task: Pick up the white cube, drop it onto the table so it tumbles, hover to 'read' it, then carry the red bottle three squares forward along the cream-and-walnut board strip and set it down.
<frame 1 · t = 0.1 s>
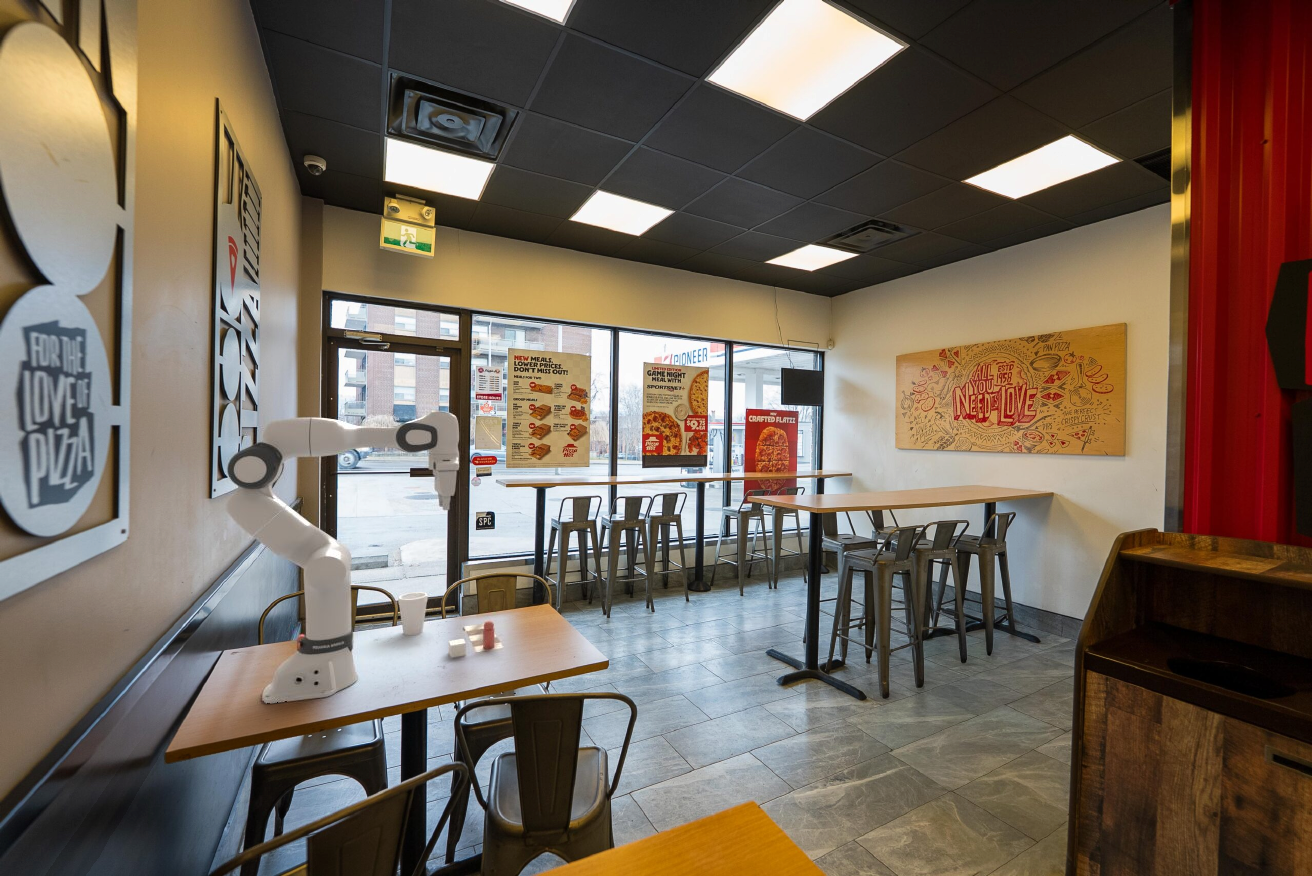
hand: (444, 508, 170), 48 cm above the table, fingers open, 8 cm apart
board: (482, 638, 191), on the table
white cube: (457, 656, 175), on the table
foam cup: (413, 632, 197), on the table
red bottle: (488, 647, 181), point 1 cm above the table, touching board
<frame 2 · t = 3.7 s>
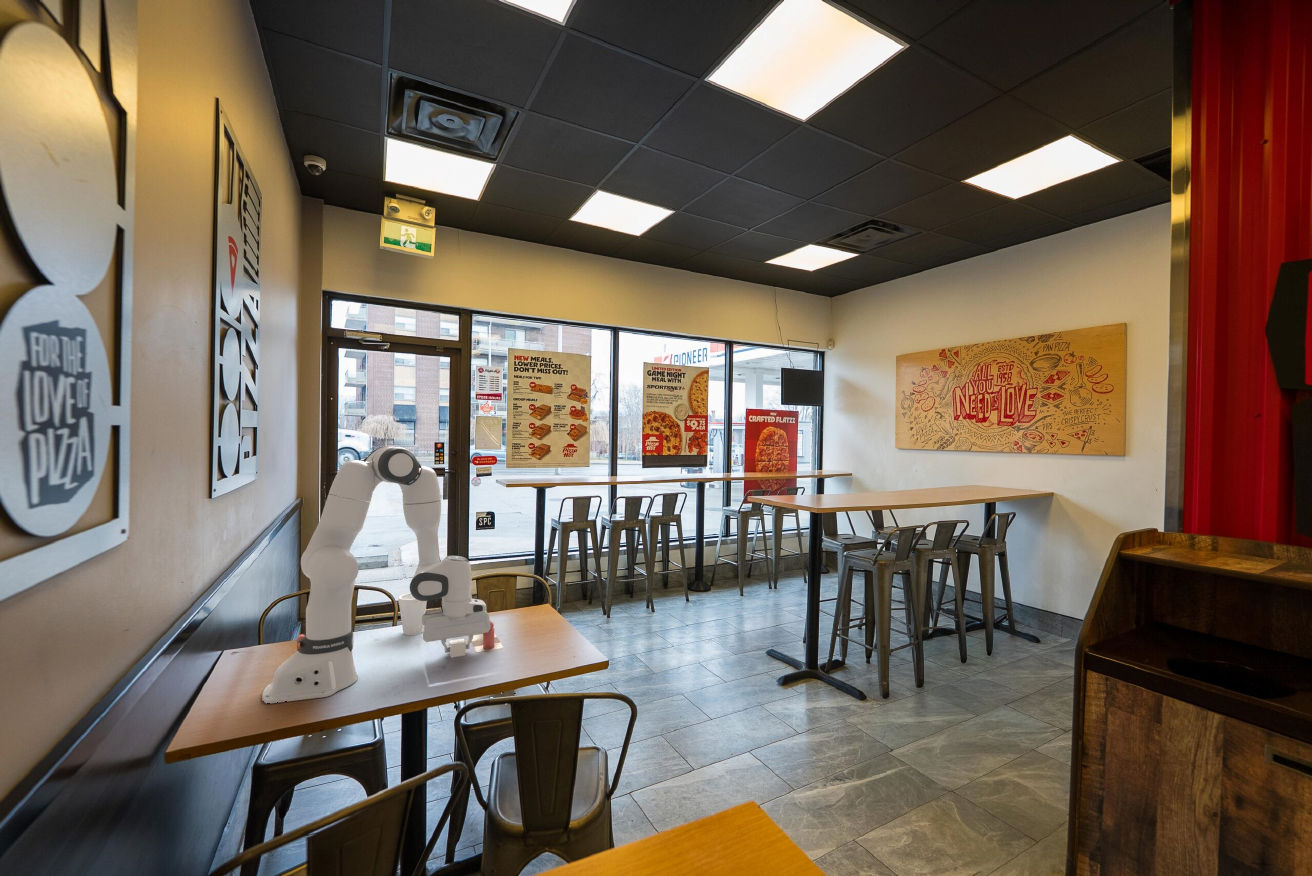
hand: (457, 650, 176), 2 cm above the table, fingers closed on white cube, 4 cm apart
white cube: (457, 655, 175), on the table, touching gripper
everything else where it was.
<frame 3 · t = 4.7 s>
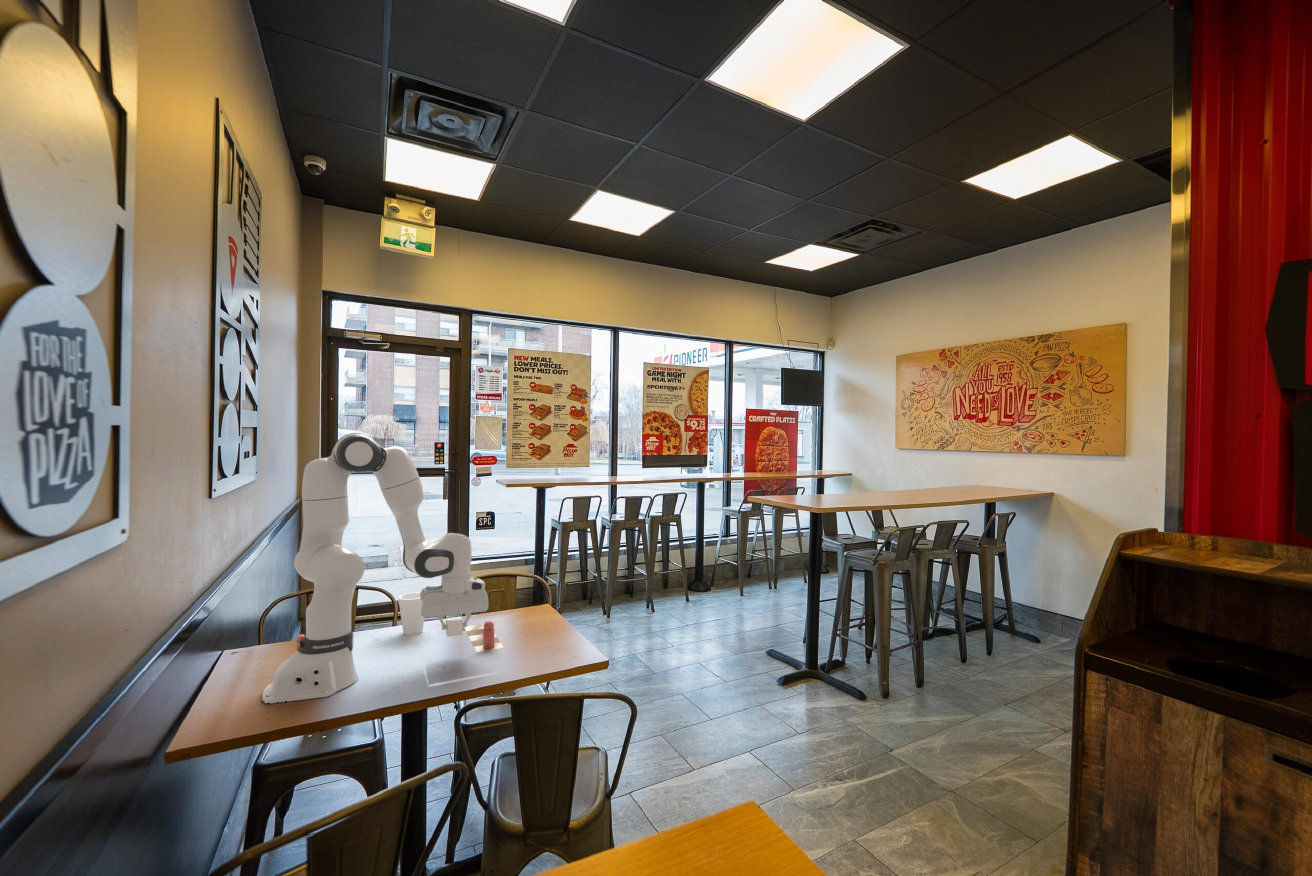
hand: (454, 627, 175), 9 cm above the table, fingers closed on white cube, 4 cm apart
white cube: (454, 633, 175), point 7 cm above the table, touching gripper
everything else where it was.
when the fingers open (7 cm above the table, at t = 5.7 s): white cube drops 6 cm, on the table.
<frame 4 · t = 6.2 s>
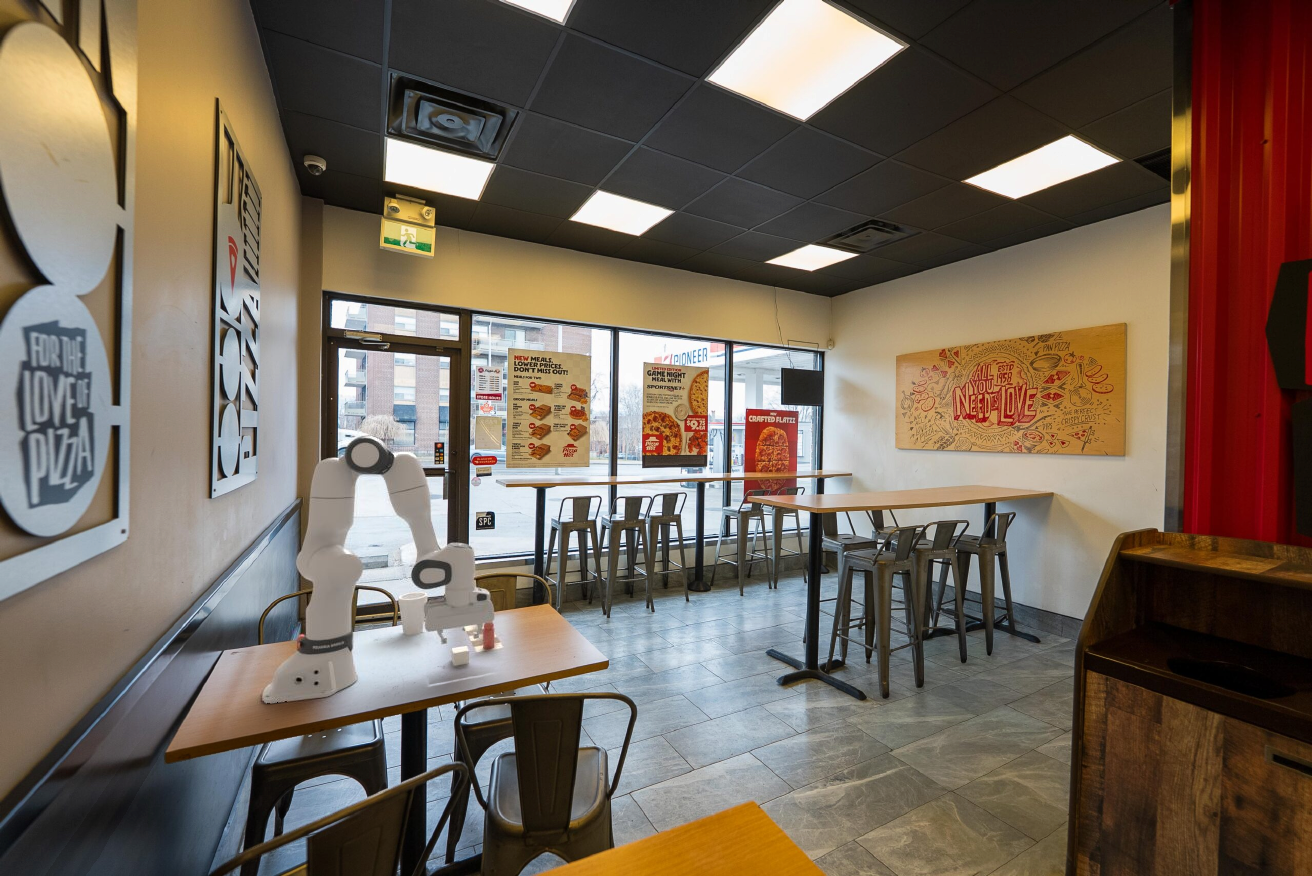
hand: (460, 640, 169), 7 cm above the table, fingers open, 8 cm apart
white cube: (460, 663, 169), on the table
everything else where it was.
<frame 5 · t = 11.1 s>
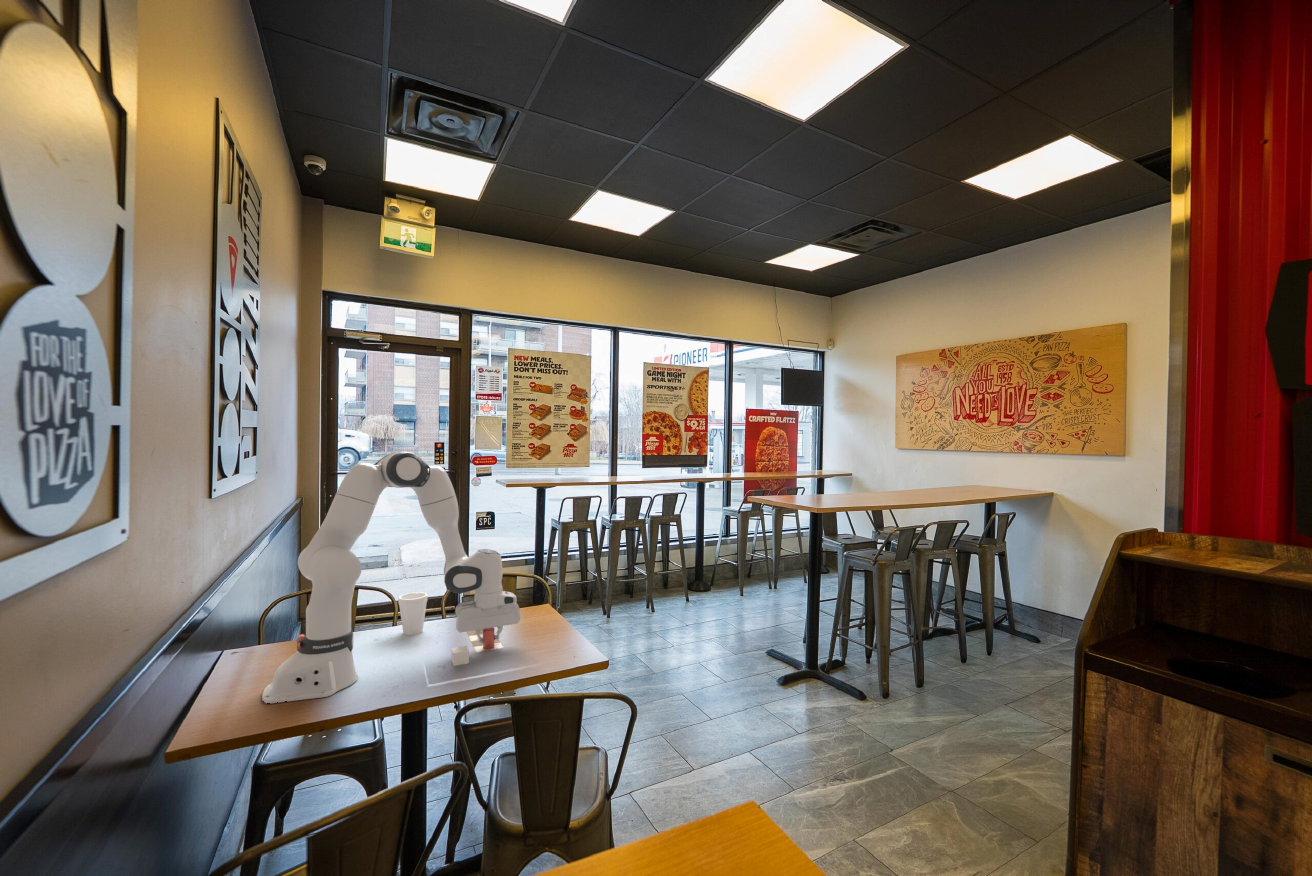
hand: (488, 640, 181), 3 cm above the table, fingers closed on red bottle, 4 cm apart
red bottle: (488, 647, 181), point 1 cm above the table, touching board, gripper
everything else where it was.
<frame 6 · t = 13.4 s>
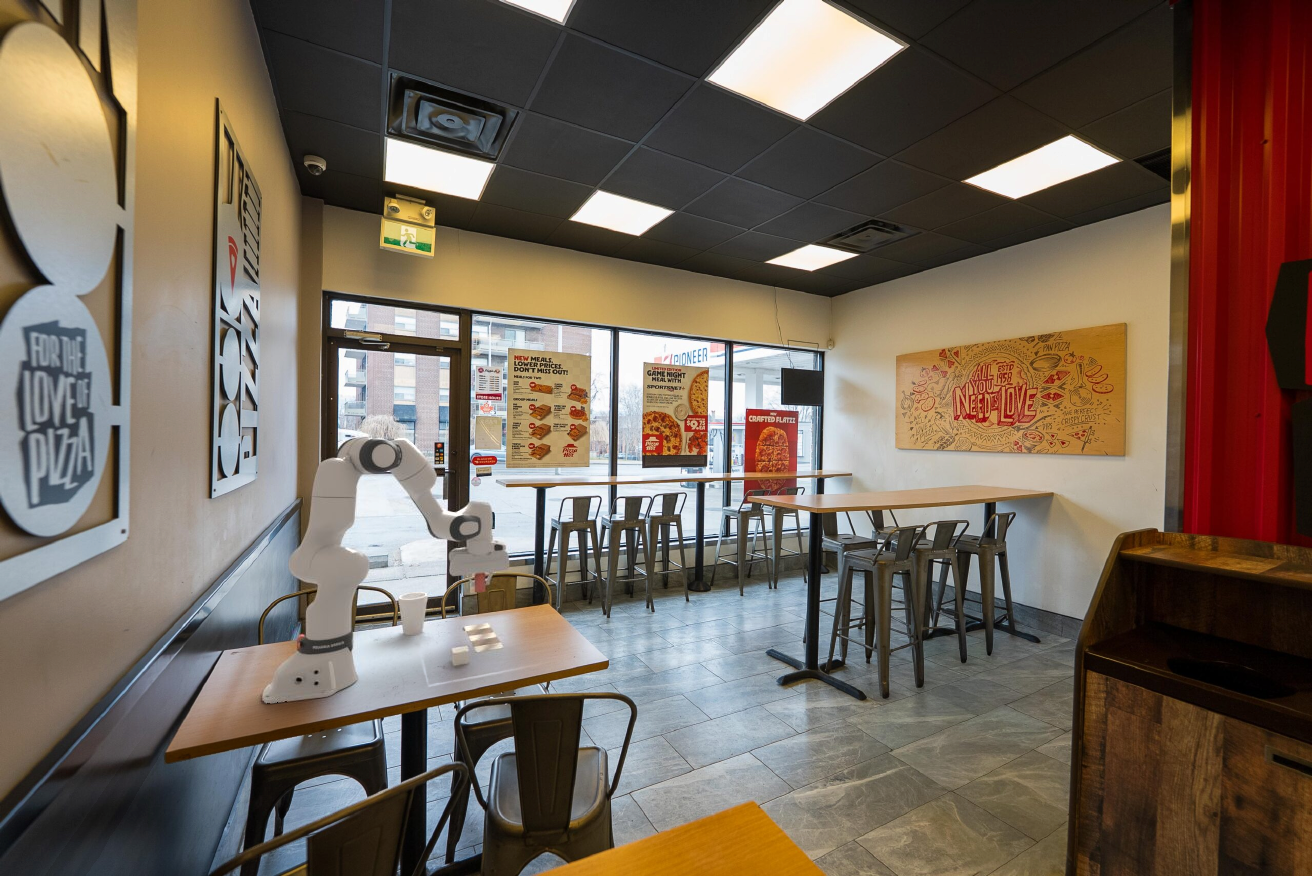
hand: (479, 585, 196), 17 cm above the table, fingers closed on red bottle, 4 cm apart
red bottle: (479, 591, 196), point 15 cm above the table, touching gripper
everything else where it was.
when the fingers open (4 cm above the table, at t = 16.1 s): red bottle drops 1 cm, resting on board.
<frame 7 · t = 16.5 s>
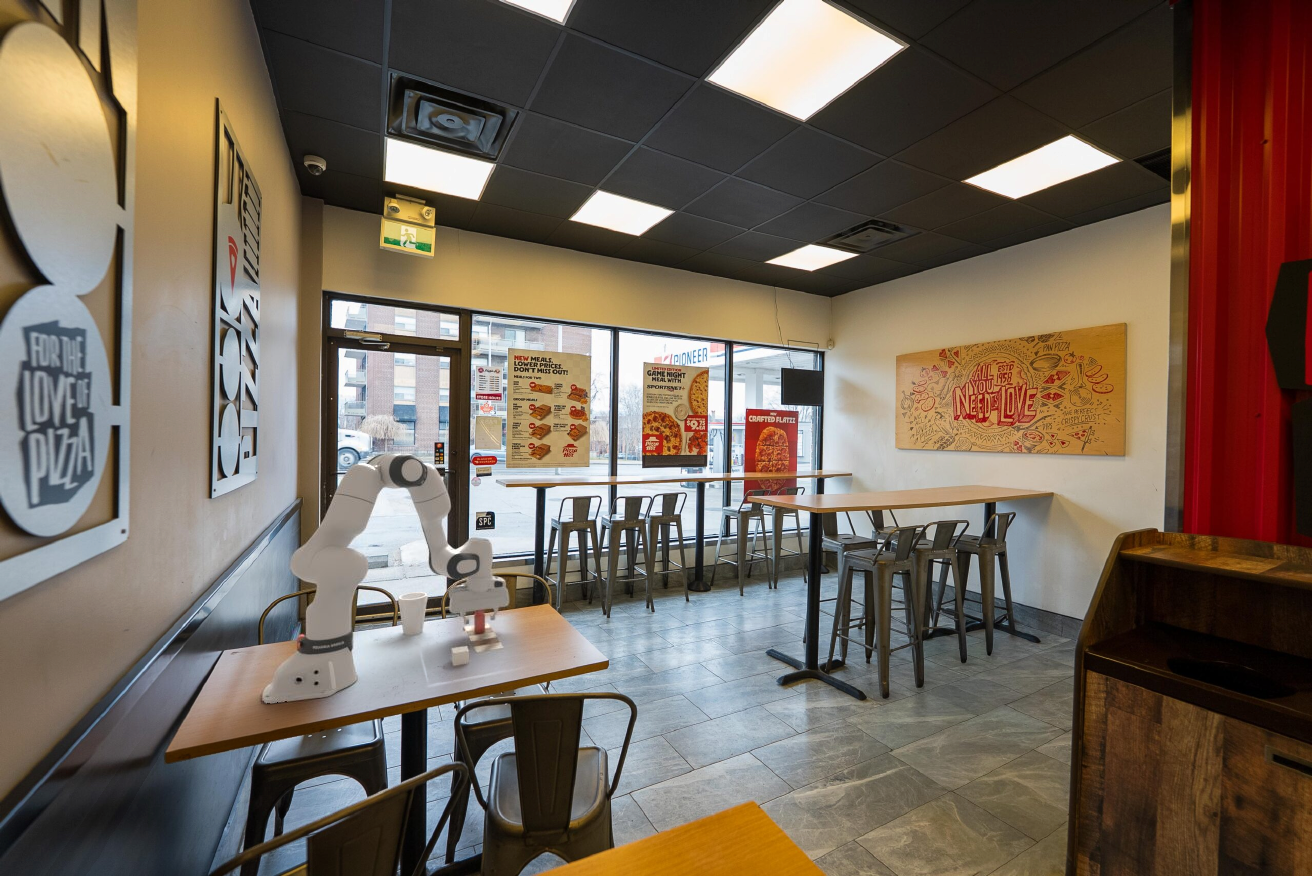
hand: (479, 621, 196), 4 cm above the table, fingers open, 8 cm apart
red bottle: (479, 631, 196), point 1 cm above the table, touching board
everything else where it was.
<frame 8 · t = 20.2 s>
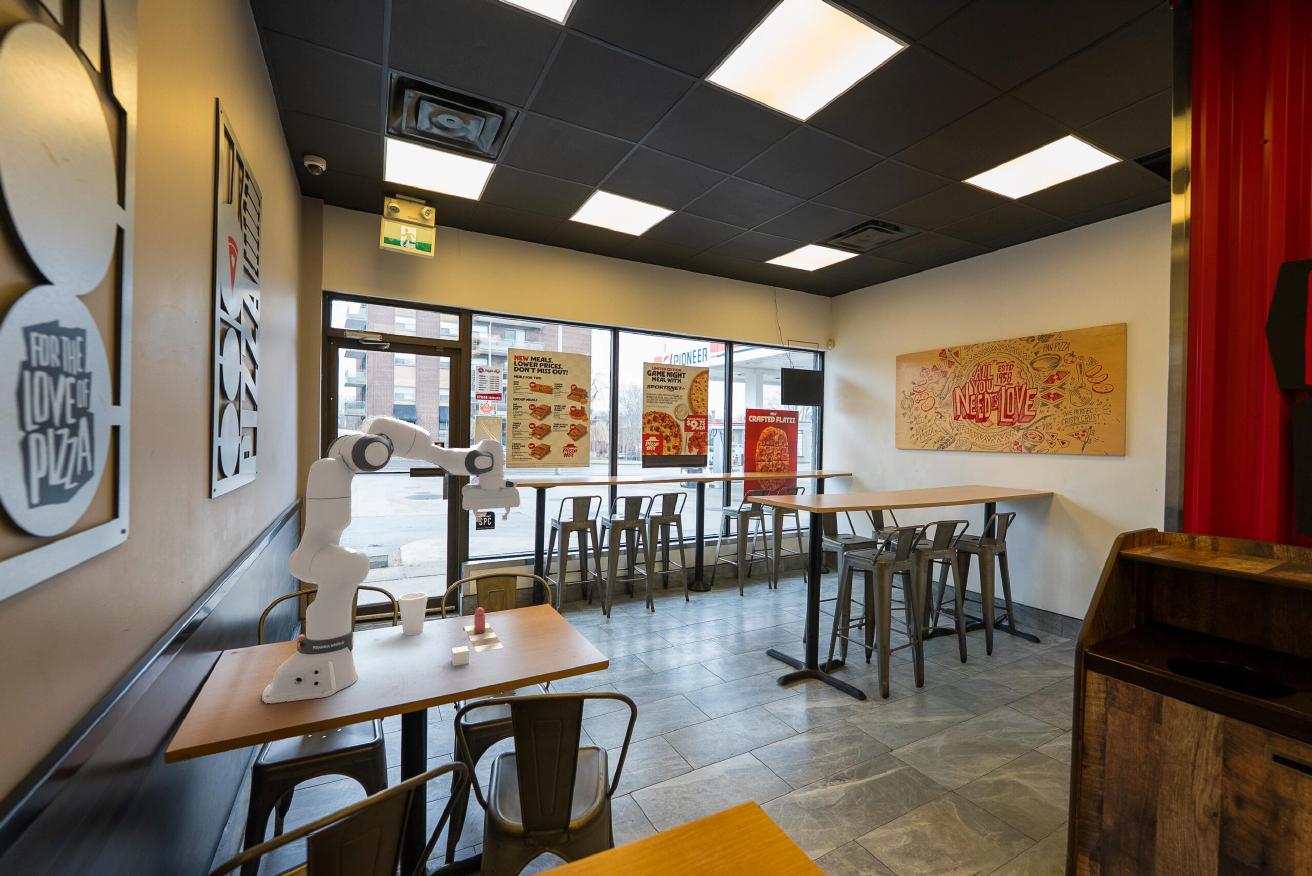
hand: (491, 520, 202), 39 cm above the table, fingers open, 8 cm apart
nothing on the table moved.
at the end: red bottle 0.1 cm from the target spot, point 0.6 cm above the table; red bottle tilted 1°; the gripper is holding nothing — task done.
